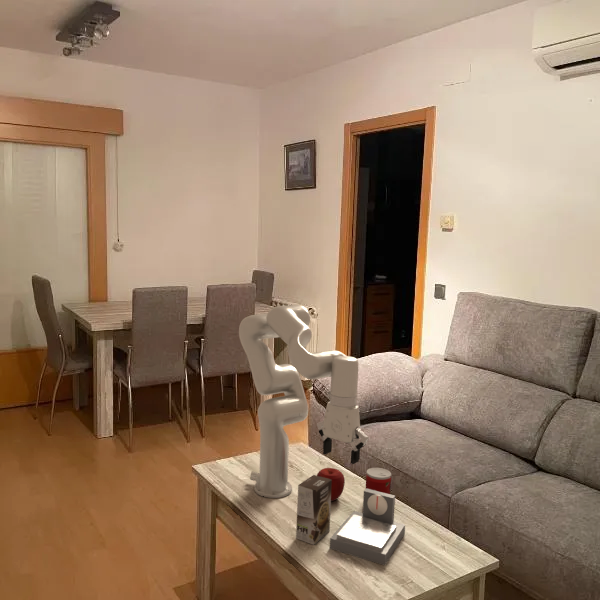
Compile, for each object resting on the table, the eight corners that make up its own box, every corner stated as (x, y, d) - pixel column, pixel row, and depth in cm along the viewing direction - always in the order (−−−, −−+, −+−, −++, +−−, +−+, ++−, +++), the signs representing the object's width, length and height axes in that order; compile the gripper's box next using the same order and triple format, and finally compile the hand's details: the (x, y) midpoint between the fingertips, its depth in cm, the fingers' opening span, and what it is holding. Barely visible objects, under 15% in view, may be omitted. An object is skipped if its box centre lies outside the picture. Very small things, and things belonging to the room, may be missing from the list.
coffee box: (314, 545, 160) (316, 490, 158) (295, 538, 164) (297, 484, 162) (330, 531, 168) (332, 479, 166) (311, 525, 171) (313, 473, 169)
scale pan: (336, 538, 159) (336, 534, 159) (353, 517, 171) (353, 514, 170) (381, 551, 153) (381, 547, 153) (396, 529, 165) (396, 525, 165)
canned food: (389, 512, 181) (390, 478, 179) (363, 508, 182) (365, 475, 181) (390, 501, 188) (392, 469, 187) (365, 497, 190) (367, 466, 188)
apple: (337, 490, 194) (338, 462, 193) (348, 503, 185) (350, 474, 184) (311, 493, 191) (312, 465, 190) (321, 507, 182) (322, 477, 181)
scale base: (329, 548, 159) (331, 510, 158) (353, 520, 175) (355, 485, 174) (384, 565, 152) (387, 526, 151) (404, 534, 168) (406, 498, 167)
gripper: (311, 396, 165) (309, 453, 167) (361, 410, 154) (358, 470, 157) (326, 391, 171) (324, 446, 173) (376, 404, 160) (373, 462, 162)
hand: (340, 457), depth 165 cm, fingers open, 9 cm apart
